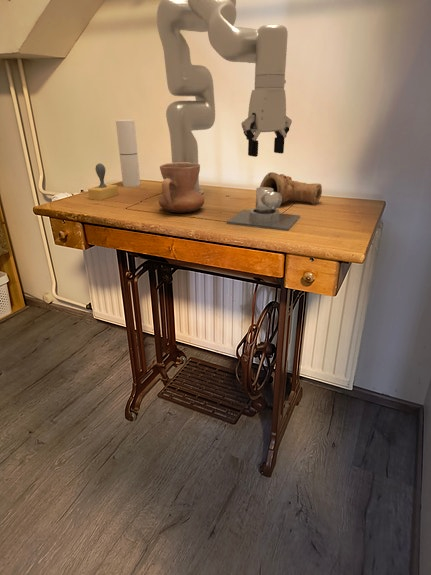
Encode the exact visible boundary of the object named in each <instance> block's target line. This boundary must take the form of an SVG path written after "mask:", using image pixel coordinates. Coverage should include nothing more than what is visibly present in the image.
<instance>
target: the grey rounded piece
mask: <svg viewBox="0 0 431 575" xmlns="http://www.w3.org/2000/svg"><path fill="white" fill-rule="evenodd" d="M281 202H282V196H281V194H280V193H277V192H273V188H270V187H260V186H259V187H257V188H256V189H255V208H256V213H259V214H271V213H272V208H273V209H278V208H279V207H280V206H281V204H282V203H281Z"/></svg>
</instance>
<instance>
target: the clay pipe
mask: <svg viewBox="0 0 431 575" xmlns="http://www.w3.org/2000/svg"><path fill="white" fill-rule="evenodd" d="M259 187H270V188H273V192H277V193H280V194H281V196H282V202H281V204H285V203H286V202H288V201H290V200H291V201H293V200H294V201H298V202H299V201H301V202H306V203H307V202H308V204H312V205H314V204H318V202H319V201H320V199H321V198H322V193H323V189H322V188H323V187H322V184H321V183H307V182H300V181H297V180H292V177H291V176H289V175H285V174H283V173H281V174H278V173H276V172H273V171H272V172H268V173H266V175H265V176H264V177H263V179H262V180H261V183H260V186H259Z"/></svg>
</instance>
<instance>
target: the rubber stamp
mask: <svg viewBox="0 0 431 575" xmlns="http://www.w3.org/2000/svg"><path fill="white" fill-rule="evenodd" d="M94 169H95V173H96V175H97V177H98V179H99V182H100V184H99V185H97V186H95V187H94V186H93V187H90V188H88V189H87V191H88V192H87V193H88V197H89V198H88V200H92V199H94V201H104V200H106V199H110V198H113V197H116V196H118V195H119V188H118V185H117V184H110V183H109V184H108V183H105V176H106V167H105V166H104V164H103V163H101V162H100V163H97V164H96V165H95V168H94Z"/></svg>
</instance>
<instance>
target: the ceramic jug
mask: <svg viewBox="0 0 431 575" xmlns="http://www.w3.org/2000/svg"><path fill="white" fill-rule="evenodd" d="M200 170H201V164H199V162H198V163H192V164H191V163H190V162H176V163H172V162H168V163H163V164H162V165H160V166H159V171H160V174H161V176H162V178H163V180H162V181H161V182H162V183H161V190H162V194H161V195H160V196H159V197H158V198H159V199H158V205H159V207H160V208H161V209H163V210H165V211H167V212H171V213H177V214H178V213H179V214H180V213H181V214H186V213H187V214H188V213H193V212H196V211H197V210H200V209H201V208H202V207H203V206H204V203H205V197H204V194H203V195H202V194H201V193H199V192H198V191H196V190H195V189H194V187H195V184H196V182H197V179H198V176H199V174H200ZM199 177H200V176H199Z"/></svg>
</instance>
